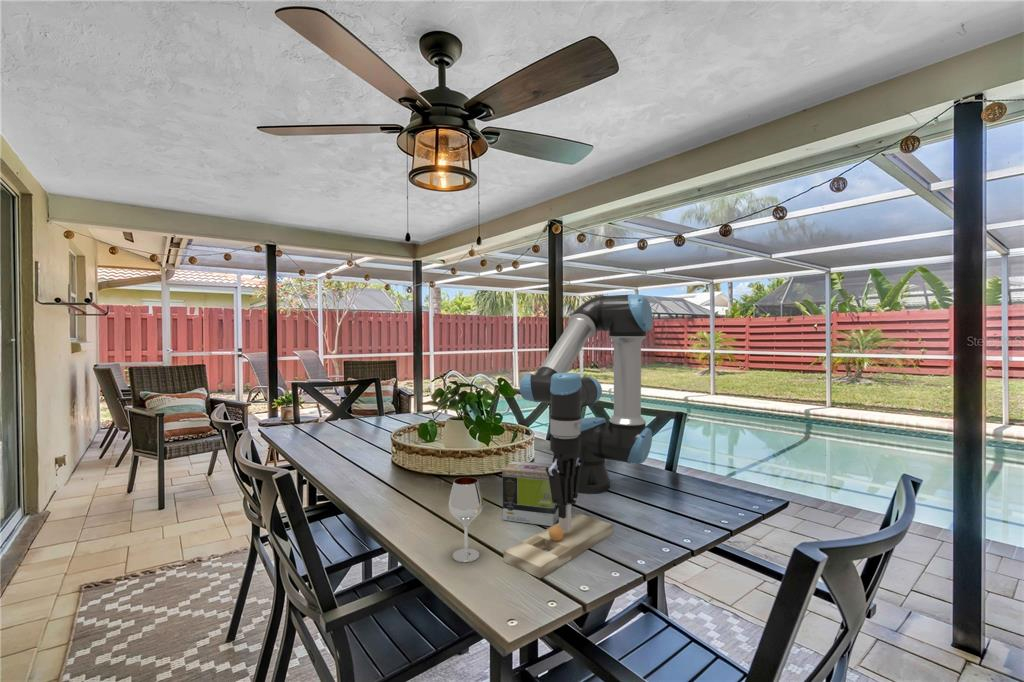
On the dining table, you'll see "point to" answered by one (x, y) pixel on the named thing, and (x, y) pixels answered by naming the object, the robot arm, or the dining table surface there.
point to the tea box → (528, 494)
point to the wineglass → (465, 511)
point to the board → (557, 546)
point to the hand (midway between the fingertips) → (565, 529)
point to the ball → (556, 533)
